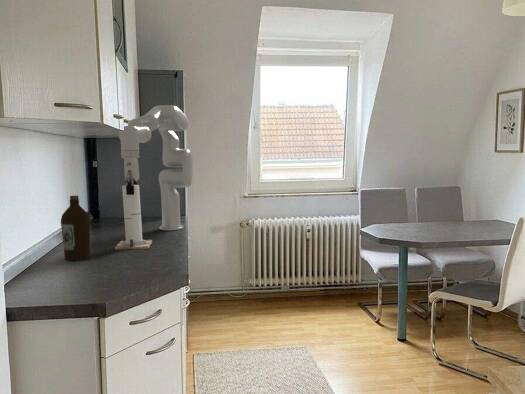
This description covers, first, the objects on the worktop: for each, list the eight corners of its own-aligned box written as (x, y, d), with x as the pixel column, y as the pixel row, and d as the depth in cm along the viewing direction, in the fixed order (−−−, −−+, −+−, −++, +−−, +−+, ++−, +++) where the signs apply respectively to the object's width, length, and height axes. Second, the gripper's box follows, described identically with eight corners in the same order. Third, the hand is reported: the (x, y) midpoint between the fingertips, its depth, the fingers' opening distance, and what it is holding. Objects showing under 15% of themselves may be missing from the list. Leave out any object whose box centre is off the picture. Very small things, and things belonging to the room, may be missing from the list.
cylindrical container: (143, 242, 204) (139, 185, 201) (126, 243, 201) (122, 186, 199) (142, 239, 210) (138, 184, 207) (125, 240, 208) (121, 185, 205)
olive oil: (79, 253, 191) (76, 194, 189) (97, 256, 186) (94, 195, 183) (57, 259, 182) (53, 196, 179) (75, 262, 177) (71, 198, 174)
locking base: (121, 242, 212) (120, 234, 212) (152, 241, 214) (151, 233, 213) (114, 249, 198) (114, 240, 198) (148, 248, 200) (147, 239, 199)
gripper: (136, 155, 193) (137, 195, 195) (142, 153, 210) (143, 191, 213) (117, 155, 192) (119, 196, 195) (125, 154, 210) (127, 191, 212)
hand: (132, 193), depth 204 cm, fingers open, 9 cm apart
